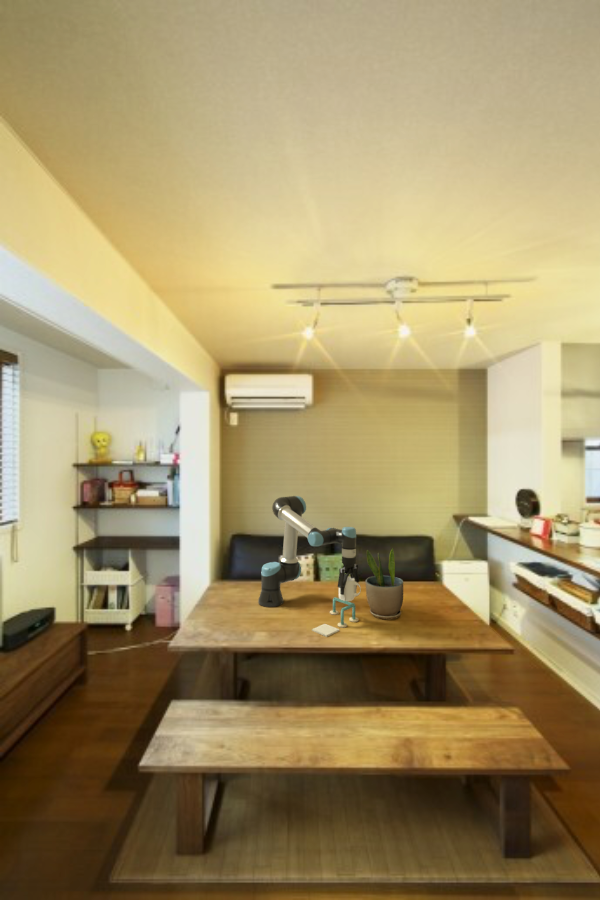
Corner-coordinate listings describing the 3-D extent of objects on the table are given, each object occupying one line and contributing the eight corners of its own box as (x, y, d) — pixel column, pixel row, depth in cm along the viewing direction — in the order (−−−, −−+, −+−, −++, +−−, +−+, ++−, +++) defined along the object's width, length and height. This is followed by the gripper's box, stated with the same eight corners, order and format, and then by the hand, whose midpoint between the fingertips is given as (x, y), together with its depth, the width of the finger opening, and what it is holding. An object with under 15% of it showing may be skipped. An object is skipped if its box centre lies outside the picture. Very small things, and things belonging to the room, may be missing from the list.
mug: (360, 602, 215) (361, 581, 215) (338, 600, 217) (338, 580, 217) (360, 596, 224) (360, 577, 224) (338, 595, 225) (339, 575, 225)
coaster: (311, 630, 209) (311, 629, 209) (324, 625, 216) (324, 623, 216) (326, 636, 202) (326, 635, 202) (339, 630, 209) (339, 629, 209)
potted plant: (357, 615, 230) (358, 544, 231) (378, 604, 246) (378, 538, 246) (390, 625, 216) (390, 550, 216) (410, 614, 232) (410, 543, 232)
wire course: (316, 618, 225) (316, 601, 225) (333, 610, 236) (333, 595, 236) (342, 628, 212) (343, 611, 212) (360, 620, 222) (360, 603, 222)
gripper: (341, 561, 209) (341, 605, 209) (366, 554, 225) (365, 595, 225) (330, 558, 215) (330, 601, 214) (355, 551, 230) (355, 591, 230)
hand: (348, 598), depth 219 cm, fingers closed on mug, 9 cm apart
